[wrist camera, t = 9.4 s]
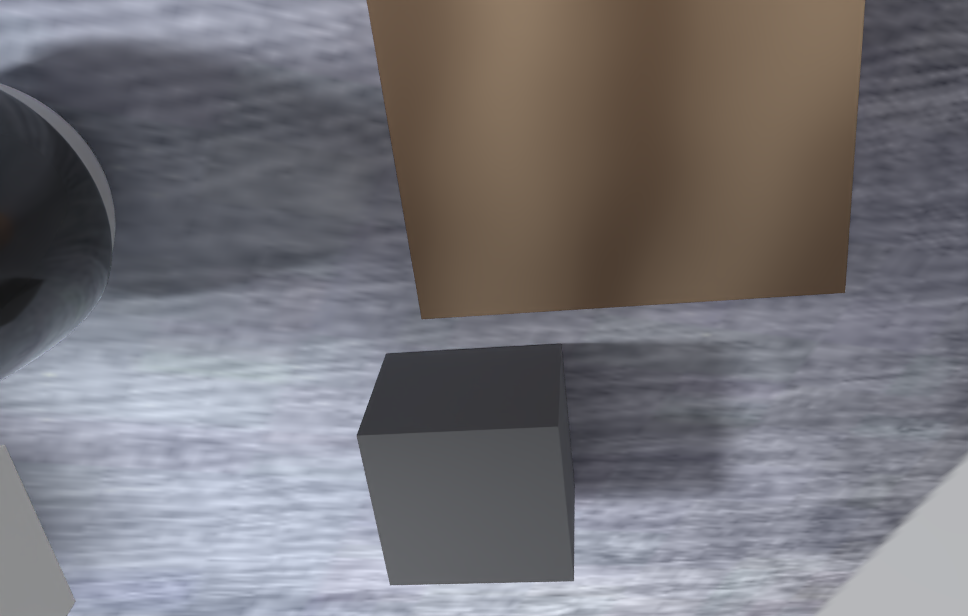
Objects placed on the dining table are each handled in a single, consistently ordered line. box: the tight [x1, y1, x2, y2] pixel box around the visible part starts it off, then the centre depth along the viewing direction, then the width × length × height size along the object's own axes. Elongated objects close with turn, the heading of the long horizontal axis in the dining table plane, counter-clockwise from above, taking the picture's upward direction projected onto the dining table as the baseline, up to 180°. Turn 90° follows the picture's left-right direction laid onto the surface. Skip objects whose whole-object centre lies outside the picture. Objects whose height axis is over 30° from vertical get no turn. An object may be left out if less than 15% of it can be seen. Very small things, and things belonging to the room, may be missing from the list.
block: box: [357, 344, 575, 585], centre depth 35 cm, size 7×7×6 cm
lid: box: [367, 0, 865, 319], centre depth 24 cm, size 12×12×2 cm
